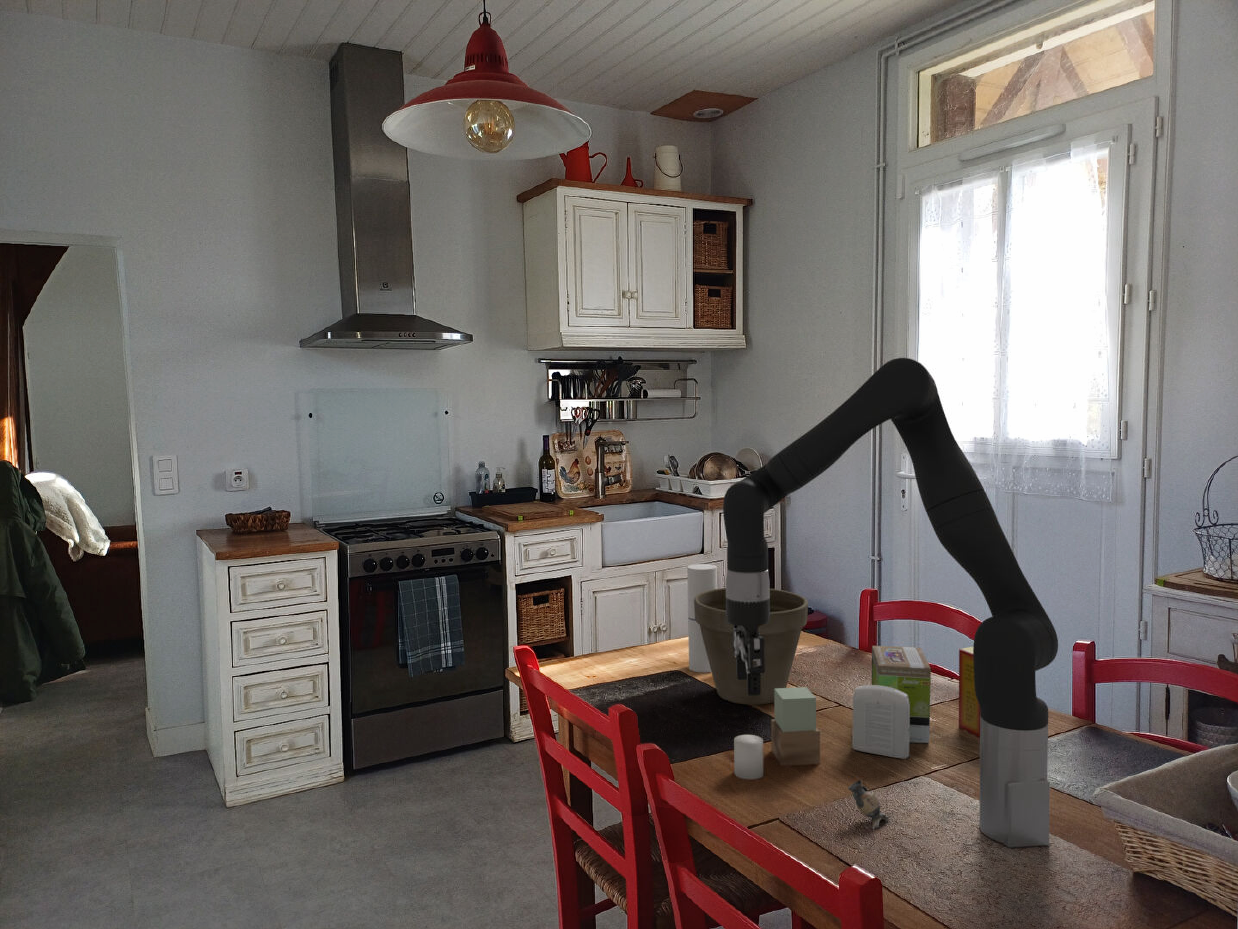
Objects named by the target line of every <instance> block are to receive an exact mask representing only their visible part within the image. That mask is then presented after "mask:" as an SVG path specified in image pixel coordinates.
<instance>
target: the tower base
mask: <svg viewBox="0 0 1238 929" xmlns="http://www.w3.org/2000/svg"><path fill="white" fill-rule="evenodd" d="M770 723H771V726H770V727H771V729H770V730H771V752H772V754H773V755H774V756H775V758H776V760H777V761H778V764H780V766H781V767H782V766H783V767H785V766H786V767H787V766H801V765H802V766H803V765H819V764H821V738H820V737H821V734H820V733H821V732H820V730H819V729H818V727H817V726H816V731H796V732H783V731H782V730H781V728H780V727H779V726H778V724H777V723H776V721H775V718H773V719H771V721H770Z"/></svg>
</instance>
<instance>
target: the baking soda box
mask: <svg viewBox="0 0 1238 929" xmlns="http://www.w3.org/2000/svg"><path fill="white" fill-rule="evenodd" d="M958 728H960V729H962V730H963V731H965V732H968V733H970V734H972V735H973V736H975V737H977V738H979V739H980V705H979V703H978V700H977V698H976V694H975V686H974V662H973V646H969V647H963V648H959V650H958Z"/></svg>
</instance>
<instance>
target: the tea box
mask: <svg viewBox="0 0 1238 929" xmlns="http://www.w3.org/2000/svg"><path fill="white" fill-rule="evenodd" d="M871 647H872V648H871V684H870V685H879V686H886V687H890V688H894V689H896V690H899V691H901V692H904V693H905V694H907V695H908V698H909V704H910V729H909V743H914V744H915V743H919V744H929V742H930V733H931V732H930V731H931V730H930V726H931V724H930V722H931V721H930V719H931V680H932V675H931V672H932V669H931V667H930V664H929V662H928V660H927V658H926V656H925V654H924V651H923V650H922V648H921V647H912V646H911V647H910V646H909V647H908V646H891V645H889V646H887V645H872V646H871Z"/></svg>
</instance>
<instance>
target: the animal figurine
mask: <svg viewBox="0 0 1238 929" xmlns="http://www.w3.org/2000/svg"><path fill="white" fill-rule="evenodd" d="M847 790H849V791H850V792H852V795H851V796H852V797H853V799H854V800H855V805H856V806H855V807H856V809H857V810H858V811H859V812H860V813H861V814H863V815H864V816H865V817H868V818H871V823H872V825H868V826H867V828H871V829H870V830H871V831H872V829H873V831H875V830H876V829H875V828H877V829H878V828H879V826H880V821H881V820H883V821H884V822H888V821H889V820H890V817H888V815H889V813H886V814H884V813H883V812H881V811H880V810H881V806H880V805H881V804H880V800H879V799H878V797H877V795H876V794H875V793H873V792H872V791H869V789H868V788H867V787H866V786H865V785H863V782H862V780H861V779H858V780H857V781H855V782H854V783H852V784H850V785H849V786H848V787H847ZM886 815H887V816H886Z"/></svg>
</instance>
